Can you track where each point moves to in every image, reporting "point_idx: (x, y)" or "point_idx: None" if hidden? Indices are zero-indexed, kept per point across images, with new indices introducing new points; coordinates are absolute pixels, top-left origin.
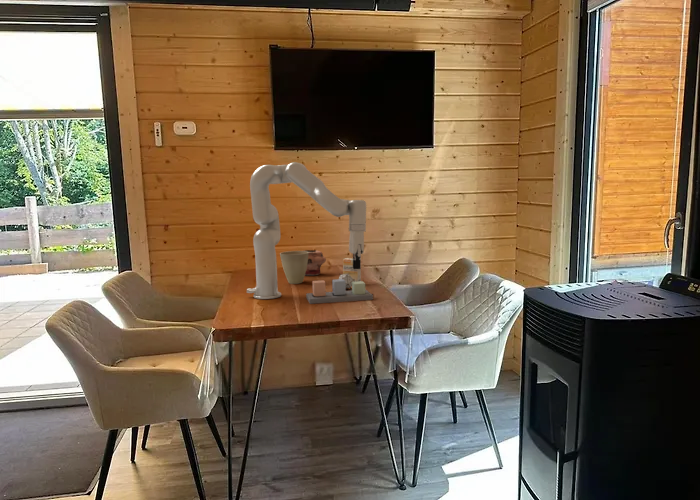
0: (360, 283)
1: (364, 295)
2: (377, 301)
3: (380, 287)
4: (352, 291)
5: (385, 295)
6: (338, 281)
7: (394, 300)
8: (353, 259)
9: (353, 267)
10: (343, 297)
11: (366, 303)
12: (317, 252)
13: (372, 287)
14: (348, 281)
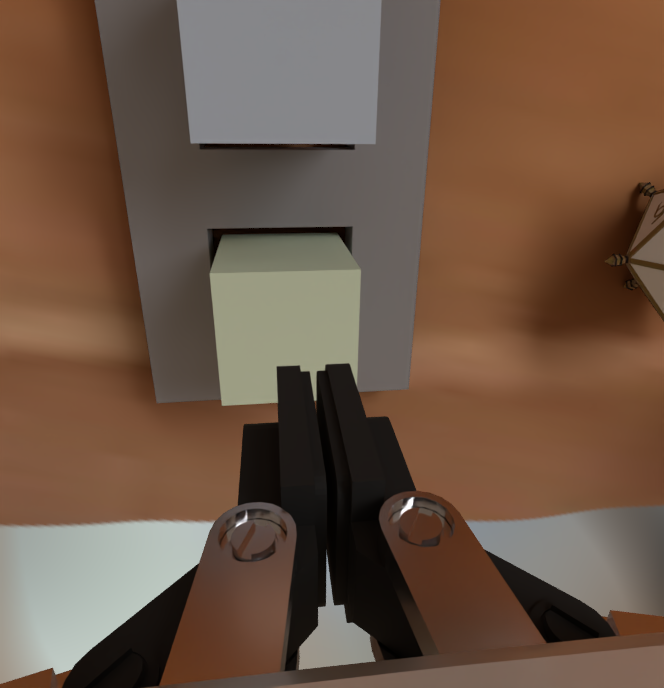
0: (222, 352)
1: (153, 329)
2: (85, 404)
3: (570, 505)
4: (317, 241)
5: None
6: (180, 3)
7: (105, 521)
8: (393, 500)
9: (279, 377)
10: (109, 82)
11: (11, 301)
12: None
13: (600, 455)
14: (657, 275)
